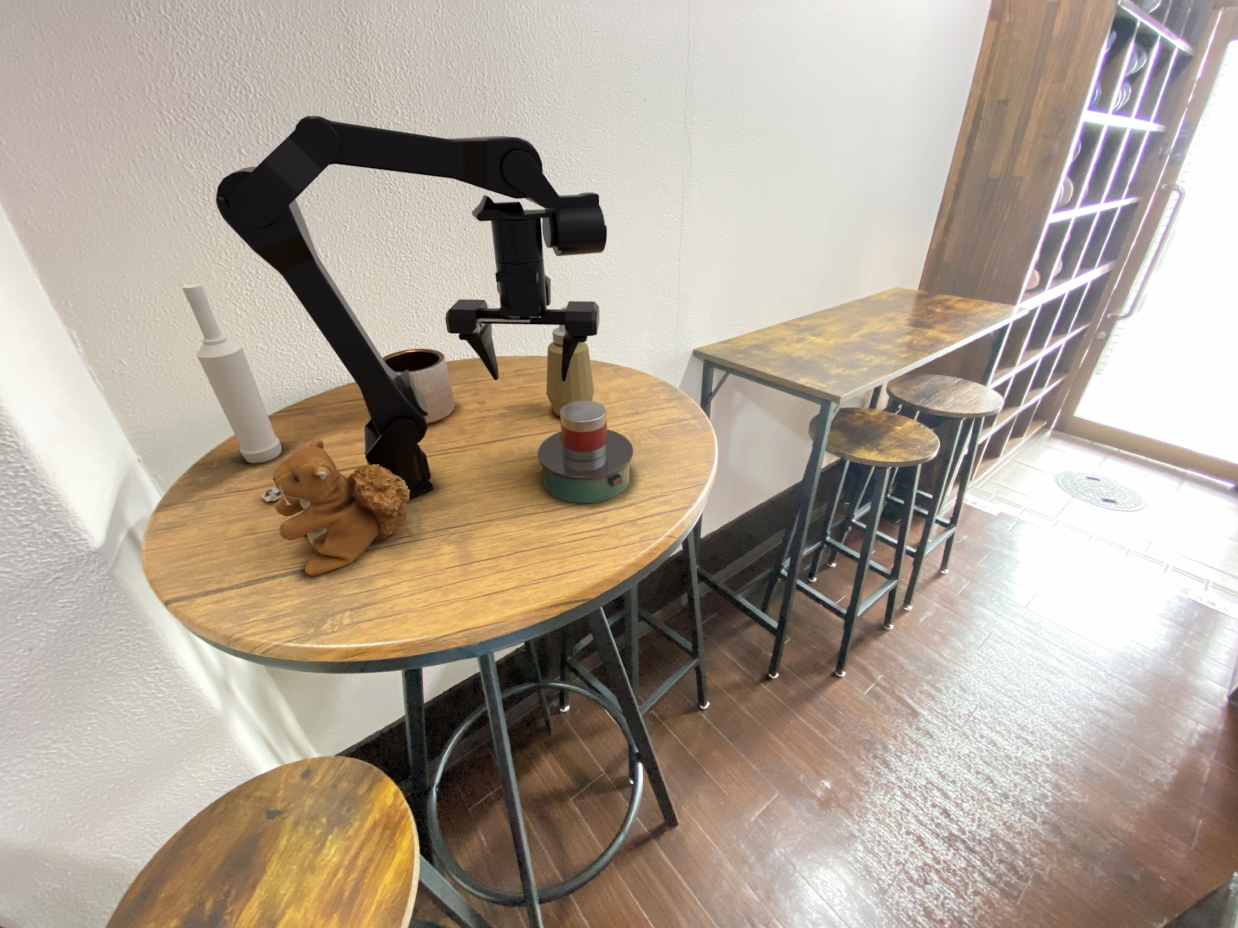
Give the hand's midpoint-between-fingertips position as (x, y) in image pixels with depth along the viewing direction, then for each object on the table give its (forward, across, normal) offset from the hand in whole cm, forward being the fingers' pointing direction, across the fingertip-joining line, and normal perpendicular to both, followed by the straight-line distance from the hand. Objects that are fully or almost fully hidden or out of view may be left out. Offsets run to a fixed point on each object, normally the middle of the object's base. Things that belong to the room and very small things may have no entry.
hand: (530, 379), depth 72 cm
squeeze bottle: (+13, -3, -16) cm, 21 cm away
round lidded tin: (+13, -8, +5) cm, 16 cm away
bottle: (+13, +42, 0) cm, 44 cm away
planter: (+13, +22, -14) cm, 30 cm away
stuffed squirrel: (+13, +19, +18) cm, 29 cm away
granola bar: (+13, +32, +9) cm, 36 cm away
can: (+8, -8, +4) cm, 12 cm away
